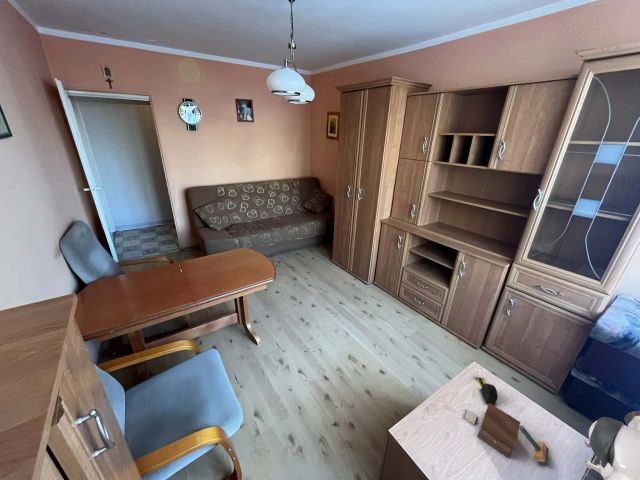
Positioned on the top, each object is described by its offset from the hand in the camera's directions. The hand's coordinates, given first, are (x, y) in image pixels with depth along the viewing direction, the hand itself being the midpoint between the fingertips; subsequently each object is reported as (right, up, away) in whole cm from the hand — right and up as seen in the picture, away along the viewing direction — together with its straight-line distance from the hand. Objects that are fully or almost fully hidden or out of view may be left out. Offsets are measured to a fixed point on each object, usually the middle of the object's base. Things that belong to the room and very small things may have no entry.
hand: (585, 453), depth 101 cm
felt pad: (-30, -2, +25) cm, 39 cm away
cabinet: (-22, -7, +19) cm, 30 cm away
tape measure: (-15, +2, +38) cm, 41 cm away
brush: (-6, -10, +11) cm, 16 cm away
